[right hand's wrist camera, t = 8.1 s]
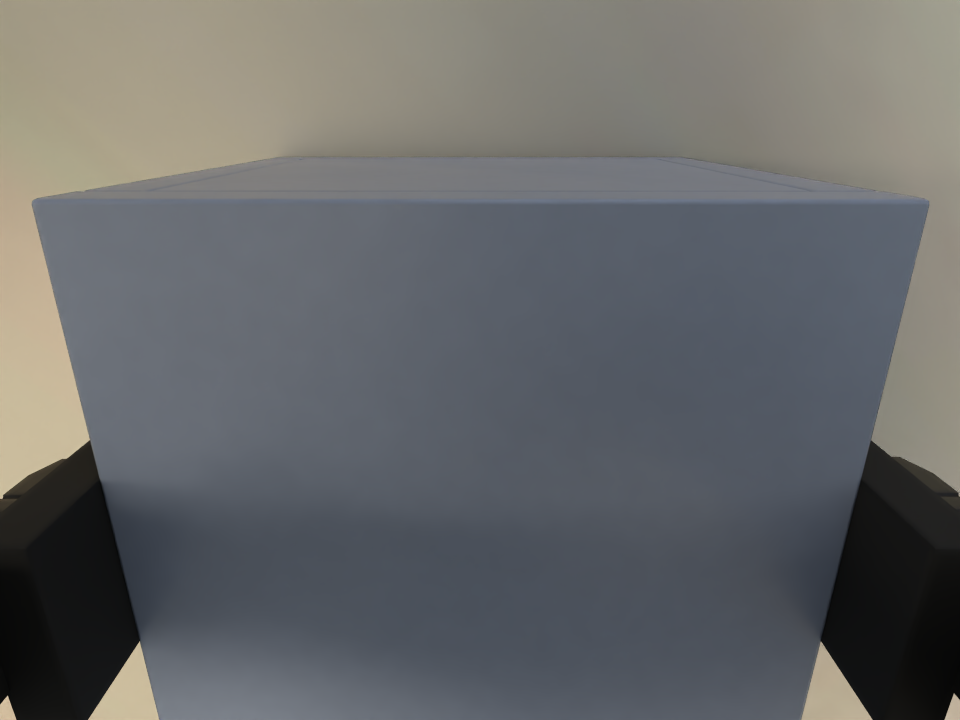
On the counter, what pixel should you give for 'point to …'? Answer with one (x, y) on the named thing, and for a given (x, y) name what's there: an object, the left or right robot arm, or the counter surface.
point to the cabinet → (480, 428)
